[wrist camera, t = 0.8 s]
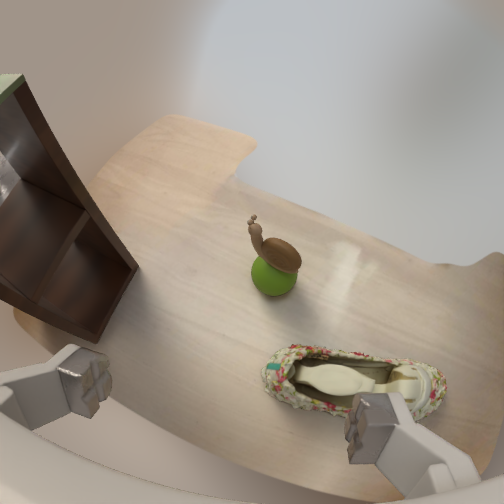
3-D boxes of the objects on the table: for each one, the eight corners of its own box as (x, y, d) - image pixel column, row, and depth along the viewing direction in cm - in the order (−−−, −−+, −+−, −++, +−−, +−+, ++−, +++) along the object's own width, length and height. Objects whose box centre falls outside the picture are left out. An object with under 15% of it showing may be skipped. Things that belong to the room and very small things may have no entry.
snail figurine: (258, 250, 41) (264, 197, 30) (301, 274, 40) (322, 228, 29) (235, 283, 39) (233, 238, 28) (280, 309, 38) (296, 274, 27)
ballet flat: (434, 426, 31) (470, 428, 24) (252, 417, 32) (254, 424, 25) (441, 360, 35) (476, 350, 28) (266, 341, 36) (272, 328, 29)
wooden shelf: (38, 302, 36) (-115, 184, 9) (78, 234, 41) (-33, 76, 14) (96, 344, 35) (-99, 232, 8) (139, 265, 39) (22, 73, 12)
